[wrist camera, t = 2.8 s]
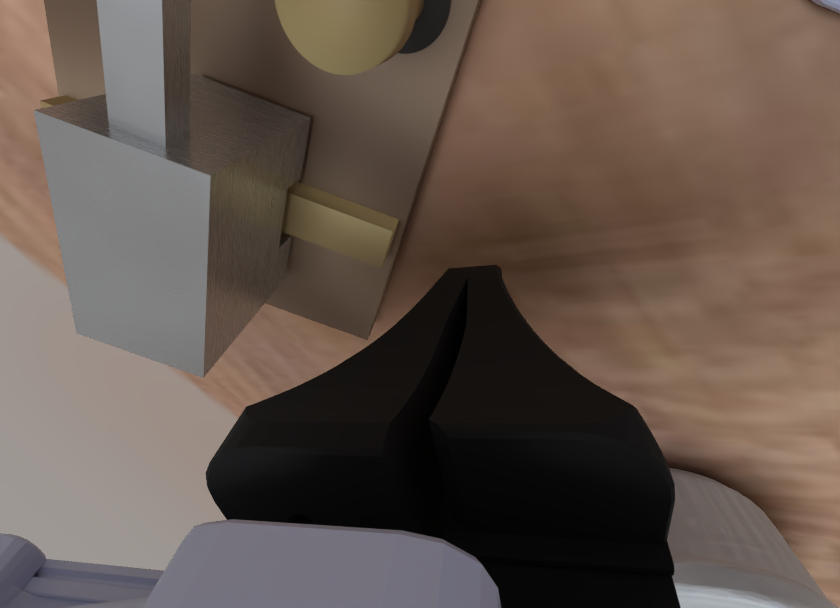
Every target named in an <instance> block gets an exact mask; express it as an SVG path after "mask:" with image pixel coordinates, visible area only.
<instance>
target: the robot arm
mask: <svg viewBox="0 0 840 608" xmlns="http://www.w3.org/2000/svg"><path fill="white" fill-rule="evenodd" d="M812 1H813V2H815V3H816V4H818V5H820V6H823V7H825V8H827V9H830V10H832V11H835V12H837V13H840V0H812ZM206 480H207V486H208V489H209V491H210V493H211V495H212V497H213V499H214V501H215V503H216V504H217V506H218V507H219V509H220V510H221V512H222V513H223V515H224V516H225V517H226V519H227V520H223V521H216V522H208V523H203V524H200V525H197V526H194V528H193V529H192V530H191V531H190V532H189V534H188V535H187V536H186V538H185V539H184V540H183V541H182V543H181V544H180V546H179V548H178V549H177V551H176V553H175V554H174V556H173V558H172V559H171V561H170V562H169V564H168V566H167V568H166V569H165V571H160V570H151V569H140V568H131V567H121V566H111V565H101V564H91V563H81V562H72V561H62V560H51V559H46V558H45V555H44V554H43V552H41V550H40V549H38V548H37V547H36V546H35V545H34V544H32V543H31V542H30V541H28V540H26V539H24V538H22V537H19V536H16V535H11V534H0V608H681V607H680V603H679V600H678V596H677V592H676V589H675V585H674V582H673V578H672V576H673V575H674V571H675V570H674V563H673V559H672V556H671V552H670V549H669V545H668V542H667V538H668V533H669V528H670V523H671V519H672V514H673V509H674V504H675V484H674V481H673V478H672V475H671V472H670V469H669V467H668V464H667V462H666V460H665V458H664V456H663V454H662V452H661V450H660V448H659V446H658V444H657V442H656V440H655V438H654V437H653V435H652V433H651V431H650V429H649V428H648V426H647V425H646V423H645V421H644V420H643V418H642V416H641V415H640V413H639V412H638V410H637V409H636V408H635V407H634V406H633V405H631V404H629V403H627V402H625V401H624V400H622V399H620V398H618V397H616V396H615V395H613V394H611V393H609V392H607V391H606V390H604V389H602V388H600V387H598V386H597V385H595V384H594V383H592V382H591V381H589V380H588V379H586V378H585V377H583V376H582V375H580V374H579V373H578V372H577V371H575V370H574V369H573V368H572V367H571V366H569V365H568V364H567V363H566V362H564V361H563V360H562V359H561V358H560V357H558V356H557V355H556V354H555V353H554V352H553V351H552V350H551V349H550V348H549V347H548V346H547V345H546V344H545V343H544V342H543V341H542V340H541V339H540V337H539V336H538V335H537V334H536V333H535V332H534V331H533V329H532V328H531V327H530V326H529V324H528V323H527V322H526V320H525V319H524V317H523V316H522V315H521V313H520V312H519V310H518V309H517V307H516V305H515V304H514V302H513V300H512V298H511V297H510V295H509V293H508V291H507V289H506V286H505V284H504V282H503V279H502V272H501V268H500V267H498V266H497V265H489V266H475V267H462V268H449V269H448V270H447V271H446V272H445V273H444V274H443V276H442V277H441V278H440V279H439V280H438V281H437V282H436V283H435V285H434V286H433V287H432V288H431V289H430V290H429V291H428V293H427V294H426V295H425V296H424V297H423V298H422V299H421V300H420V301H419V302H418V303H417V304H416V305H415V306H414V307H413V308H412V309H411V310H410V311H409V312H408V313H407V314H406V315H405V316H404V317H403V318H402V319H401V320H400V321H399V322H398V323H397V324H395V325H394V326H393V327H392V328H391V329H390V330H388V331H387V332H386V333H385V334H383V335H382V336H381V337H380V338H378V339H377V340H376V341H374V342H373V343H372V344H370V345H369V346H367V347H366V348H365V349H363V350H362V351H360V352H358V353H357V354H355V355H354V356H352V357H350V358H349V359H347V360H346V361H344V362H342V363H341V364H339V365H338V366H336V367H334V368H332V369H331V370H329V371H327V372H325V373H323V374H321V375H319V376H317V377H315V378H313V379H311V380H309V381H307V382H305V383H303V384H301V385H299V386H297V387H295V388H292V389H290V390H288V391H285V392H283V393H280V394H278V395H275V396H273V397H270V398H268V399H266V400H263V401H261V402H258V403H256V404H253V405H250V406H247V407H246V408H245V410H244V411H243V413H242V414H241V416H240V417H239V419H238V420H237V422H236V423H235V425H234V426H233V428H232V429H231V431H230V432H229V434H228V436H227V437H226V439H225V440H224V442H223V443H222V445H221V446H220V448H219V449H218V451H217V452H216V454H215V456H214V457H213V458H212V460H211V462H210V463H209V466H208V469H207V471H206Z"/></svg>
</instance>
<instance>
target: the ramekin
mask: <svg viewBox="0 0 840 608" xmlns="http://www.w3.org/2000/svg"><path fill="white" fill-rule="evenodd" d="M669 469H670V472H671V475H672V478H673V481H674V484H675V504H674V509H673V514H672V519H671V523H670V528H669V533H668V538H667V542H668V545H669V549H670V552H671V556H672V559H673V563H674V570H675V571H674V575H673V576H672V578H673V582H674V585H675V589H676V592H677V596H678V600H679V603H680V607H681V608H838V607H837V606H836V605H835V604H833V603H832V602H831V601H829V600H828V599H827V598H826V597H825V595H824V594H823V592H822V591H821V589H820V588H819V586H818V585H817V584H816V582H815V581H814V579H813V578H812V576H811V575H810V574H809V572H808V571H807V570H806V568H805V567H804V566H803V564H802V563H801V561H800V560H799V559H798V557H797V556H796V555H795V553H794V552H793V550H792V549H791V548H790V546H789V545H788V543H787V542H786V541H785V539H784V538H783V537H782V535H781V534H780V532H779V531H778V530H777V528H776V527H775V526H774V524H773V523H772V522H771V521H770V519H769V518H768V517H767V516H766V514H765V513H764V512H763V511H762V510H761V509H760V508H759V507H758V506H757V505H755V504H754V503H753V502H752V501H751V500H750V499H748V498H746V497H745V496H743V495H741V494H740V493H739V492H737V491H735V490H733V489H731V488H729V487H727V486H725V485H723V484H721V483H719V482H717V481H715V480H713V479H710V478H708V477H705V476H702V475H699V474H696V473H692V472H688V471H684V470H679V469H674V468H669Z"/></svg>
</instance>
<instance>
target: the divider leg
mask: <svg viewBox="0 0 840 608" xmlns="http://www.w3.org/2000/svg"><path fill="white" fill-rule="evenodd" d="M97 10H98V20H99V30H100V40H101V50H102V60H103V70H104V81H105V91H106V94H103V95H98V96H94V97H90V98H85V99H81V100H77V101H72V102H68V103H63V104H59V105H55V106H50V107H46V108H41V109H37V110H34V114H35V119H36V124H37V130H38V135H39V140H40V145H41V150H42V156H43V161H44V166H45V171H46V176H47V182H48V187H49V192H50V197H51V202H52V208H53V213H54V218H55V223H56V229H57V234H58V239H59V244H60V249H61V255H62V260H63V265H64V270H65V275H66V281H67V286H68V291H69V296H70V301H71V306H72V311H73V317H74V322H75V327H76V332H77V333H78V334H81V335H83V336H86V337H89V338H92V339H95V340H98V341H100V342H103V343H106V344H109V345H112V346H115V347H117V348H121V349H123V350H126V351H129V352H132V353H134V354H137V355H140V356H143V357H146V358H149V359H151V360H154V361H157V362H160V363H163V364H166V365H168V366H171V367H174V368H177V369H180V370H183V371H186V372H188V373H191V374H194V375H197V376H200V377H203V378H204V377H205V375H206V374H207V373H208V372H209V370H210V369H211V368H212V367H213V366H214V364H215V363H216V362H217V361H218V359H219V358H220V357H221V356H222V355H223V353H224V352H225V351H226V350H227V348H228V347H229V346H230V345H231V344H232V342H233V341H234V340H235V339H236V338H237V336H238V335H239V334H240V333H241V331H242V330H243V329H244V328H245V327H246V325H247V324H248V323H249V322H250V320H251V319H252V318H253V317H254V316H255V314H256V313H257V312H258V311H259V310H260V308H261V307H262V306H263V305H264V303H265V302H266V301H267V300H268V299H269V297H270V296H271V295H272V294H273V292H274V291H275V290H276V289H277V288H278V286H279V285H280V284H281V283H282V282H283V280H284V279H285V275H286V269H287V263H288V257H289V250H290V244H291V238H292V235H290V234H287V233H284V232H281V230H282V223H283V216H284V209H285V203H286V196H287V189H288V188H289V187H291V186H292V185H293V184H294V183H295V182H297V181H298V180H299V179H300V178H301V176H302V170H303V164H304V157H305V151H306V145H307V139H308V133H309V127H310V120H311V118H310V117H308V116H305V115H302V114H300V113H297V112H294V111H292V110H289V109H287V108H284V107H281V106H279V105H276V104H273V103H271V102H268V101H265V100H263V99H260V98H258V97H255V96H252V95H250V94H247V93H244V92H242V91H239V90H236V89H234V88H231V87H228V86H226V85H223V84H221V83H218V82H215V81H213V80H210V79H207V78H205V77H202V76H199V75H197V74H191V75H190V47H191V0H97Z"/></svg>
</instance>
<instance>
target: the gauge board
mask: <svg viewBox="0 0 840 608" xmlns="http://www.w3.org/2000/svg"><path fill="white" fill-rule="evenodd" d="M480 2H481V0H191V47H190V75H191V74H197V75H199V76H202V77H205V78H207V79H210V80H213V81H215V82H218V83H221V84H223V85H226V86H228V87H231V88H234V89H236V90H239V91H242V92H244V93H247V94H250V95H252V96H255V97H258V98H260V99H263V100H265V101H268V102H271V103H273V104H276V105H279V106H281V107H284V108H287V109H289V110H292V111H294V112H297V113H300V114H302V115H305V116H308V117H310V118H311V120H310V127H309V133H308V139H307V145H306V151H305V157H304V164H303V170H302V176H301V178H300V179H299V180H298V181H297V182H295V183H294V184H293V185H292V186H291V187H289V188H288V189H287V196H286V203H285V209H284V216H283V223H282V230H281V232H284V233H287V234H290V235H292V238H291V244H290V250H289V257H288V263H287V269H286V275H285V279H284V280H283V282H282V283H281V284H280V285H279V286H278V288H277V289H276V290H275V291H274V292H273V294H272V295H271V296H270V297H269V299H268V300H267V301H266V302H265V303H266V304H269V305H272V306H275V307H277V308H280V309H283V310H286V311H289V312H291V313H294V314H297V315H300V316H302V317H305V318H308V319H311V320H313V321H316V322H319V323H322V324H325V325H327V326H330V327H333V328H336V329H338V330H341V331H344V332H347V333H350V334H352V335H355V336H358V337H361V338H363V339H366V340H367V339H368V337H369V335H370V332H371V330H372V328H373V325H374V323H375V320H376V317H377V314H378V311H379V308H380V305H381V302H382V299H383V296H384V293H385V290H386V287H387V284H388V281H389V278H390V275H391V272H392V269H393V266H394V263H395V260H396V257H397V254H398V251H399V247H400V244H401V241H402V238H403V235H404V232H405V229H406V226H407V223H408V220H409V217H410V214H411V211H412V208H413V205H414V202H415V199H416V196H417V193H418V190H419V187H420V184H421V181H422V178H423V175H424V172H425V169H426V166H427V163H428V160H429V157H430V154H431V150H432V147H433V144H434V141H435V138H436V135H437V132H438V129H439V126H440V123H441V120H442V117H443V114H444V111H445V108H446V105H447V102H448V99H449V96H450V93H451V90H452V87H453V84H454V81H455V78H456V75H457V72H458V69H459V66H460V63H461V60H462V57H463V54H464V50H465V47H466V44H467V41H468V38H469V35H470V32H471V29H472V26H473V23H474V20H475V17H476V14H477V11H478V8H479V5H480ZM44 4H45V10H46V16H47V23H48V29H49V36H50V42H51V48H52V55H53V61H54V67H55V74H56V80H57V86H58V93H59V97H56V98H51V99H46V100H41V101H40V102H41V108H46V107H50V106H55V105H59V104H63V103H68V102H72V101H77V100H81V99H85V98H90V97H94V96H98V95H103V94H106V91H105V81H104V70H103V60H102V50H101V40H100V30H99V20H98V10H97V0H44Z"/></svg>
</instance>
